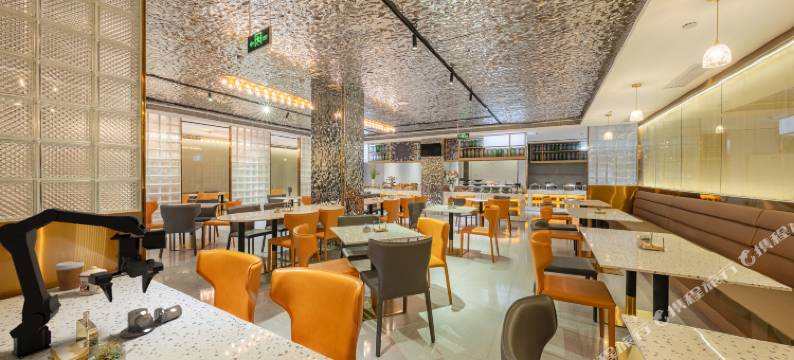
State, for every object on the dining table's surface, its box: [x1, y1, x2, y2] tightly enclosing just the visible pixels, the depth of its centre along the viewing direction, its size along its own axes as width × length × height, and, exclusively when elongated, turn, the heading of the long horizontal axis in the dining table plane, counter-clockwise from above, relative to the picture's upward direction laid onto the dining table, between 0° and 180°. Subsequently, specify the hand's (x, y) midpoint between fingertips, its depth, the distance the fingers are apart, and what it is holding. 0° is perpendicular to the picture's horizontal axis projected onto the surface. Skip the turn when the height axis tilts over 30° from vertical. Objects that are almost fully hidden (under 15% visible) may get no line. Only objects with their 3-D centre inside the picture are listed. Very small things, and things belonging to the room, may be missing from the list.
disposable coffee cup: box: [54, 260, 85, 292], centre depth 141 cm, size 10×10×12 cm
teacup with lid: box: [79, 265, 108, 296], centre depth 136 cm, size 12×9×12 cm
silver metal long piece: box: [119, 304, 183, 340], centre depth 106 cm, size 17×9×6 cm, turn 155°
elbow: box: [127, 307, 154, 333], centre depth 101 cm, size 9×5×6 cm, turn 65°
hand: (128, 297), depth 102 cm, fingers open, 9 cm apart
